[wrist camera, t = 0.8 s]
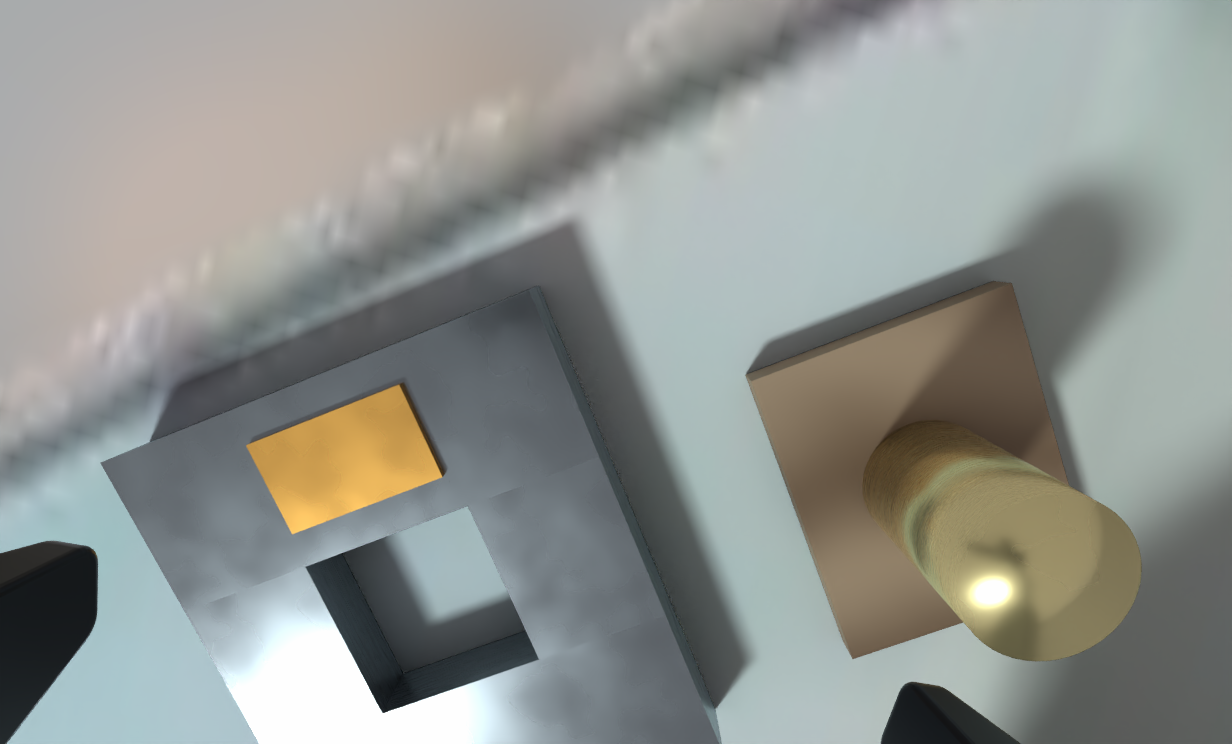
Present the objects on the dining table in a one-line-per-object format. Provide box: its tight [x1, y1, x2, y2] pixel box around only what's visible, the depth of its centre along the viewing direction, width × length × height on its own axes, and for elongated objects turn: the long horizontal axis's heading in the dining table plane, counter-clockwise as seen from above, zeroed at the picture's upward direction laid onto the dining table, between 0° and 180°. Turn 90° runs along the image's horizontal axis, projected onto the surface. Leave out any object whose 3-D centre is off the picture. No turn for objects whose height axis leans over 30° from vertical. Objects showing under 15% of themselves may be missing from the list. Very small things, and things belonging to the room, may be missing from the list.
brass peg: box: [862, 420, 1142, 661], centre depth 17 cm, size 4×4×6 cm
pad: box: [746, 281, 1069, 659], centre depth 21 cm, size 10×8×1 cm
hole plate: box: [101, 286, 722, 744], centre depth 21 cm, size 16×14×2 cm
